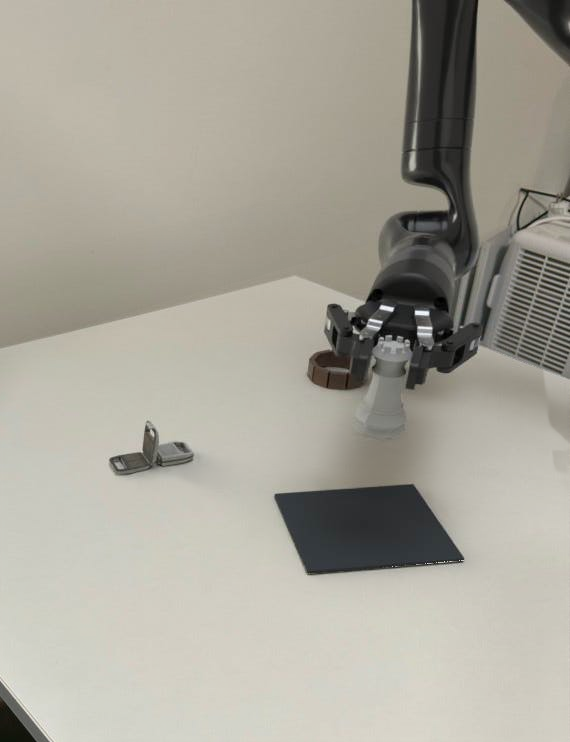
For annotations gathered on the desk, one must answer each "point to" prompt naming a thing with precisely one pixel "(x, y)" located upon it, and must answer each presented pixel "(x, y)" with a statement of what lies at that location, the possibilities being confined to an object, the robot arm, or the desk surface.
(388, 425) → the rook chess piece
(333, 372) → the brown segmented bracelet
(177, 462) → the strap clip
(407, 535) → the mat
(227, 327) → the desk surface
